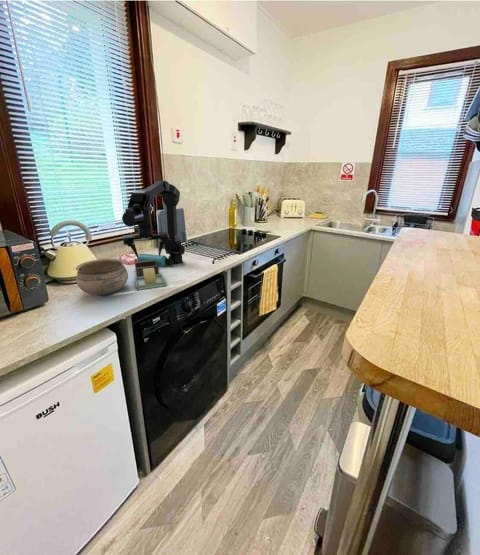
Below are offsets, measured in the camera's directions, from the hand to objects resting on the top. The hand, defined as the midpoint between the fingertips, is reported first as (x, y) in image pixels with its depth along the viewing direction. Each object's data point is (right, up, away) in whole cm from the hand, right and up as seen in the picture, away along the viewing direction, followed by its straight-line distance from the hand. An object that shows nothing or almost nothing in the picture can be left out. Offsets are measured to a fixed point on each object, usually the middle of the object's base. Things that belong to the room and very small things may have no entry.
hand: (148, 257), depth 122 cm
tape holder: (-5, -7, +13) cm, 16 cm away
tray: (0, -12, +1) cm, 12 cm away
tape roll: (0, -11, +1) cm, 11 cm away
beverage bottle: (-14, +1, +24) cm, 28 cm away
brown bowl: (-15, -16, -8) cm, 23 cm away
